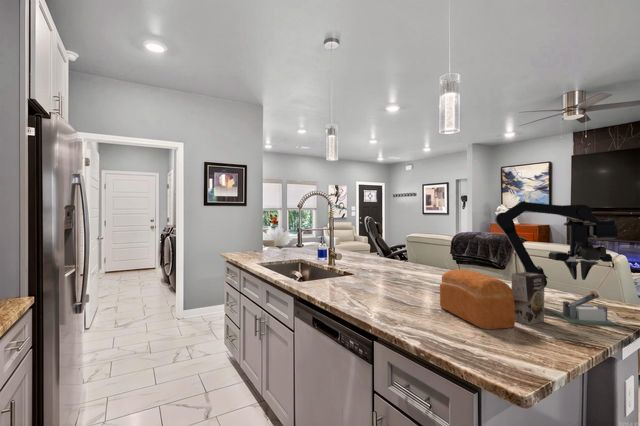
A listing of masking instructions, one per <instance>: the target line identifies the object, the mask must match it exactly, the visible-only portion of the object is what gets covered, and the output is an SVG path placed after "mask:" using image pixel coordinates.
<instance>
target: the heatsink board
mask: <svg viewBox="0 0 640 426" xmlns="http://www.w3.org/2000/svg"><path fill="white" fill-rule="evenodd" d="M567 304H570V302H569V301H567V300H566V301H565V300H564V301H563V302H562V311H555V312H554V314H555V315H556V316H558V317H560V318H562V319H564V320H565V321H567V322H569V323H570V324H579V325H581V324H582V325H599V326H600V325H601V326H603V325H605V326H616V322H615V321H612V320H610V319H608V306H605V305H603V304H600V303H599V304H597V307H594V305H593V304H586V303H584V304H582V305H580V306H577V307H576V305H573V304H570V308H568V307H566V305H567Z"/></svg>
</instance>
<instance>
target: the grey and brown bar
mask: <svg viewBox="0 0 640 426" xmlns="http://www.w3.org/2000/svg"><path fill="white" fill-rule="evenodd" d="M599 297H600V296H599V293H598V292H596V291H593V290H592V291H589V294H588V295H586V296H584V297H582V298H581V297H580V298H579V299H577V300H574V301H572V302H569V304H567V305H566V307H568V308H570V304H573V305H576V307H577V306H580V305H582V304H586V303H589V302H591V301H593V300H595V299H598V298H599Z"/></svg>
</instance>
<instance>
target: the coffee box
mask: <svg viewBox="0 0 640 426" xmlns="http://www.w3.org/2000/svg"><path fill="white" fill-rule="evenodd" d="M544 274H545V273H544ZM544 274H538V273H529V272H524V271H523V272H516V273H511V289H512V296H513V298H514V304H515V322H517V323H521V324H525V325H526V326H530V325H534V324H539V323H542V322H545V288H544V277H545V275H546V274H545V275H544Z"/></svg>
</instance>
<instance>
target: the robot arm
mask: <svg viewBox="0 0 640 426" xmlns="http://www.w3.org/2000/svg"><path fill="white" fill-rule="evenodd" d="M525 212H530V213H538V214H547V215H557V216H561V217H564V218H568V220H567V221H566V222H564V223H563V224H562V225H563V226H566V227H567V226H568V227H569V239H568V240H567V243H568V244H569V250H567V252H563V251H550V252H549V253H548V259H549V260H553V261H558V262H559V261H560V262H563V264H565V266H566V267H567V269H568V271H569V273H570V275H571V277H572V278H573V280H575V281H576V280H577V278H578V277H577V276H578V274H577V273H578V269H577V268H578V267H577V266H578V265H579V262H580V273H581V274H580V276H581V280H583V281H586V279H587V276H588V275H589V273H590V271H591V269H592V268H593V266H595V265H598V264H599V262H598V261H601V262H606V263H613V256H612V255H611V254H610V253H607V248H606V247H605V246H593V242H592V241H591V240H590V236H593V238H594V239H603V240H604V239H605V240H606V239H607V240H615V239H616V238H617V237H618V232H619V230H618V229H617V225H616V223H615V222H616V221H615V220H614V219H613V220H612V219H609V220H598V218H596V216H595V215H594V214H593V213H592V212H593V211H592V209H591V207H590V206H589V205H587V204H566V205H565V204H564V205H562V204H561V205H560V204H559V205H558V204H549V203H539V202H528V201H525V200H524V201H523V200H522V201H519V202H517V203H516V204H515V205H513V206H512V207H511V208H509V209H507V210H506V211H504V212H503V211H502V212H499V213H497V214H496V215H495V217H494V222H495V224H497V225H496V226H497V227H499V228H500V230H501V231H502V232H503V234H504V235H506V238H507V239H508V242H509V243H510V245H511V247H512V249H513V251H514V252H515V255H516V257H517V258H518V260H519V261H520V263H521V266H522V268H523V270H524V271H523V272H529V273H538V274H544V275H545V277H544V289H545V288H546V287H547V284H548V280H547V279H549V277H548V276H546V273H545V271H544V269H543V267H541V266H539V265H537V266H536V264H535V263H534V262H533V260H532V258H531V256H530V254H529V253H528V250H527V249H526V247H525V244H524V243H523V242H522V239H521V238H520V235H518V232H517V228H516V225H515V221H514V220H515V219H516V218H518V217H520V215H522V214H523V213H525ZM573 220H578V221H573ZM583 222H584V223H588V224H584V223H583ZM590 223H591V224H590ZM576 260H580V261H576Z"/></svg>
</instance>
